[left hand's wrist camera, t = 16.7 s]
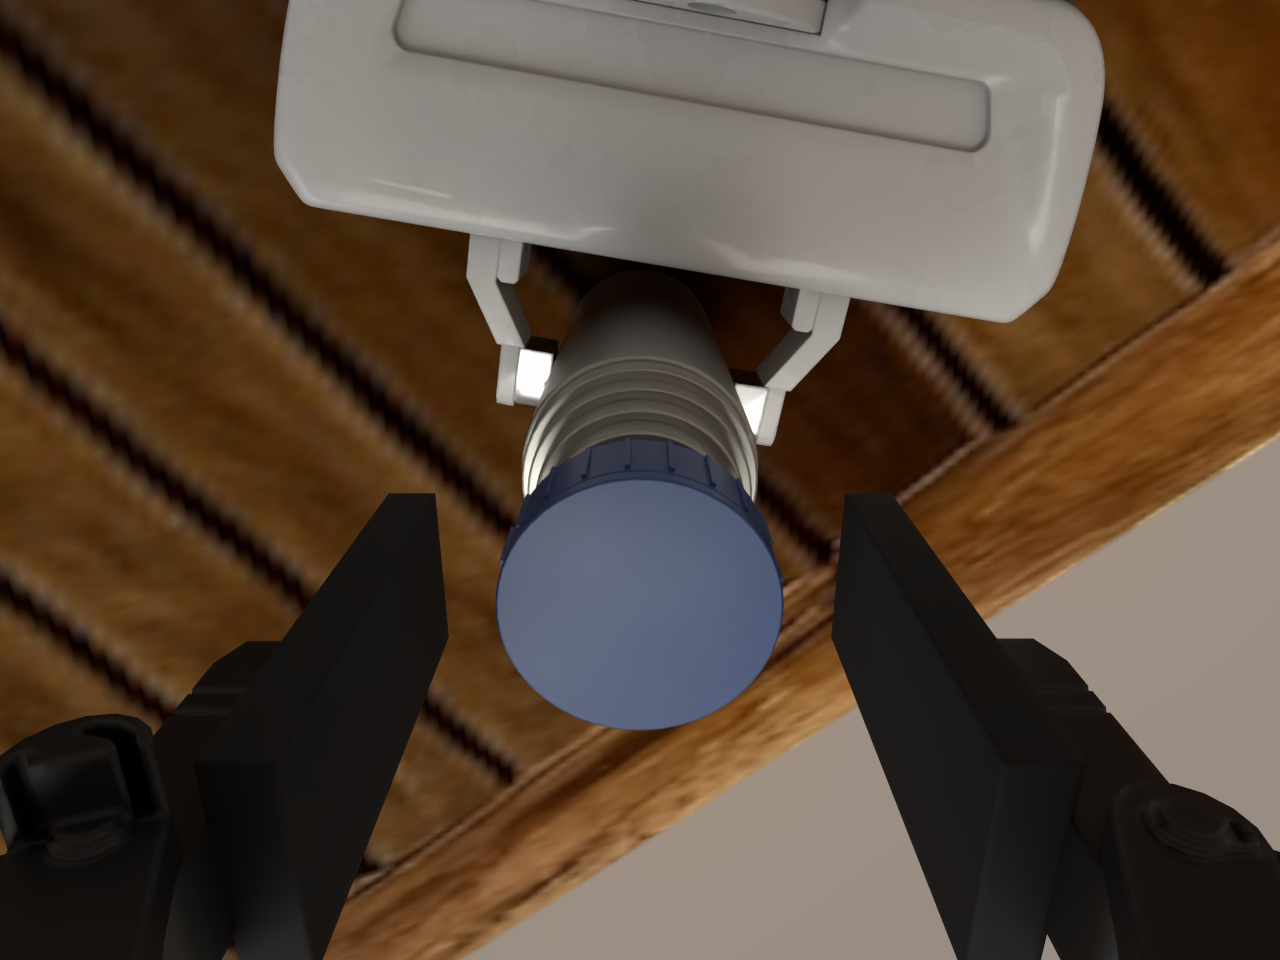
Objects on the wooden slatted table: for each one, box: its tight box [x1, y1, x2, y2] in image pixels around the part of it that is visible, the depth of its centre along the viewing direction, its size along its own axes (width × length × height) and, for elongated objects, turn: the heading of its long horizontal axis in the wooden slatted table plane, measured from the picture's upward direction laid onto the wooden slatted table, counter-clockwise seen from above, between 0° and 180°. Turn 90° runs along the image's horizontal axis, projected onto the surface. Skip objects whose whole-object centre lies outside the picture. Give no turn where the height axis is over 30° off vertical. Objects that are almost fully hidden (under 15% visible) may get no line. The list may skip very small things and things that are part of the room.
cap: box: [496, 438, 784, 730], centre depth 14 cm, size 4×4×2 cm
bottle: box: [521, 270, 758, 504], centre depth 22 cm, size 5×5×19 cm
